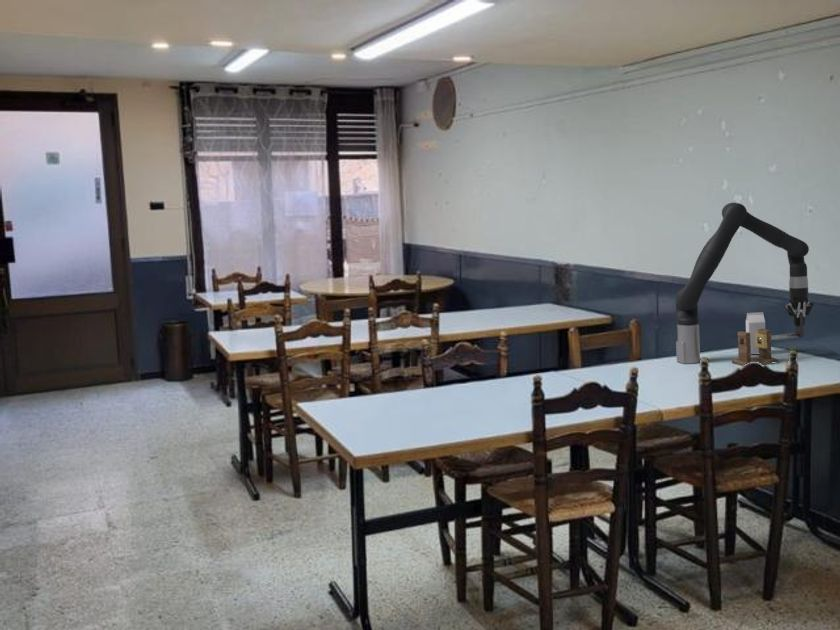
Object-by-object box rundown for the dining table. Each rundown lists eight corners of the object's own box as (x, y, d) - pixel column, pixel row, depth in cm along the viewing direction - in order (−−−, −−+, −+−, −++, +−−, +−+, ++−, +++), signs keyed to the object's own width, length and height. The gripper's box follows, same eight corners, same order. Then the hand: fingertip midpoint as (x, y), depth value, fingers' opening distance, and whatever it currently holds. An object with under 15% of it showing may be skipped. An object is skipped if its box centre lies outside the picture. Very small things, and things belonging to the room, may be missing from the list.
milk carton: (766, 354, 382) (765, 313, 379) (749, 355, 383) (748, 314, 381) (762, 351, 389) (761, 311, 386) (746, 352, 390) (745, 312, 388)
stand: (745, 366, 359) (744, 334, 357) (732, 363, 369) (730, 331, 367) (778, 362, 362) (777, 330, 361) (764, 359, 372) (763, 327, 370)
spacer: (764, 348, 362) (763, 334, 362) (755, 346, 368) (755, 333, 367) (767, 348, 363) (766, 334, 362) (758, 346, 368) (758, 332, 368)
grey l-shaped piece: (761, 342, 364) (761, 319, 362) (757, 341, 366) (757, 318, 365) (803, 337, 368) (802, 314, 367) (799, 336, 371) (798, 313, 370)
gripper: (790, 288, 361) (791, 328, 364) (818, 285, 364) (818, 325, 366) (779, 287, 369) (780, 326, 371) (806, 284, 372) (807, 323, 374)
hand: (799, 325), depth 369 cm, fingers closed on grey l-shaped piece
